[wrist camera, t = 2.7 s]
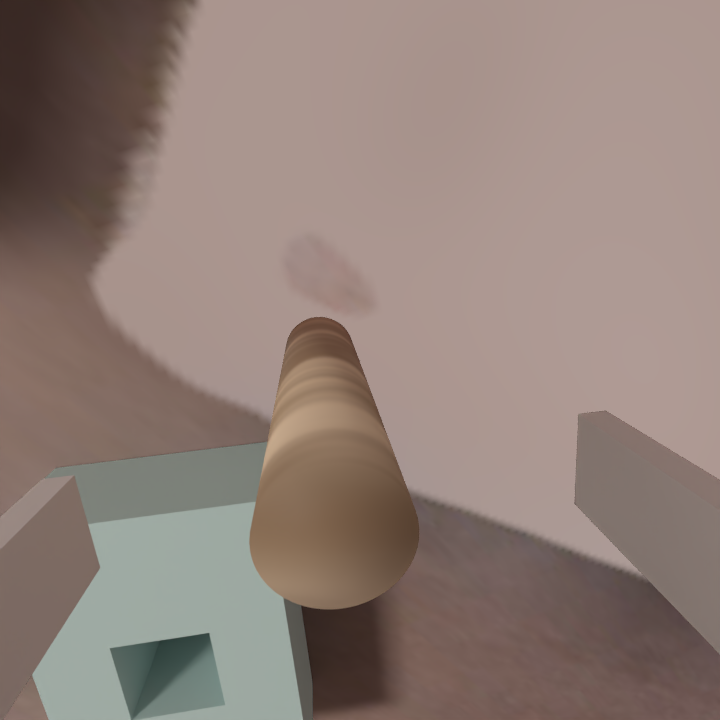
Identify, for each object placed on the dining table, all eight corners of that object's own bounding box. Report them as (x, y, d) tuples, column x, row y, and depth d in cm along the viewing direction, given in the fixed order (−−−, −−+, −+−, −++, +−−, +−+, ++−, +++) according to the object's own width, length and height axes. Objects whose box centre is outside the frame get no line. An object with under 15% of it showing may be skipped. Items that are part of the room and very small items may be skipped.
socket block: (55, 468, 25) (-19, 538, 20) (276, 440, 26) (267, 500, 21) (129, 713, 30) (87, 825, 25) (312, 682, 31) (313, 784, 26)
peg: (281, 320, 25) (236, 475, 9) (349, 313, 25) (414, 453, 10) (290, 384, 26) (262, 620, 10) (355, 377, 26) (422, 596, 11)
